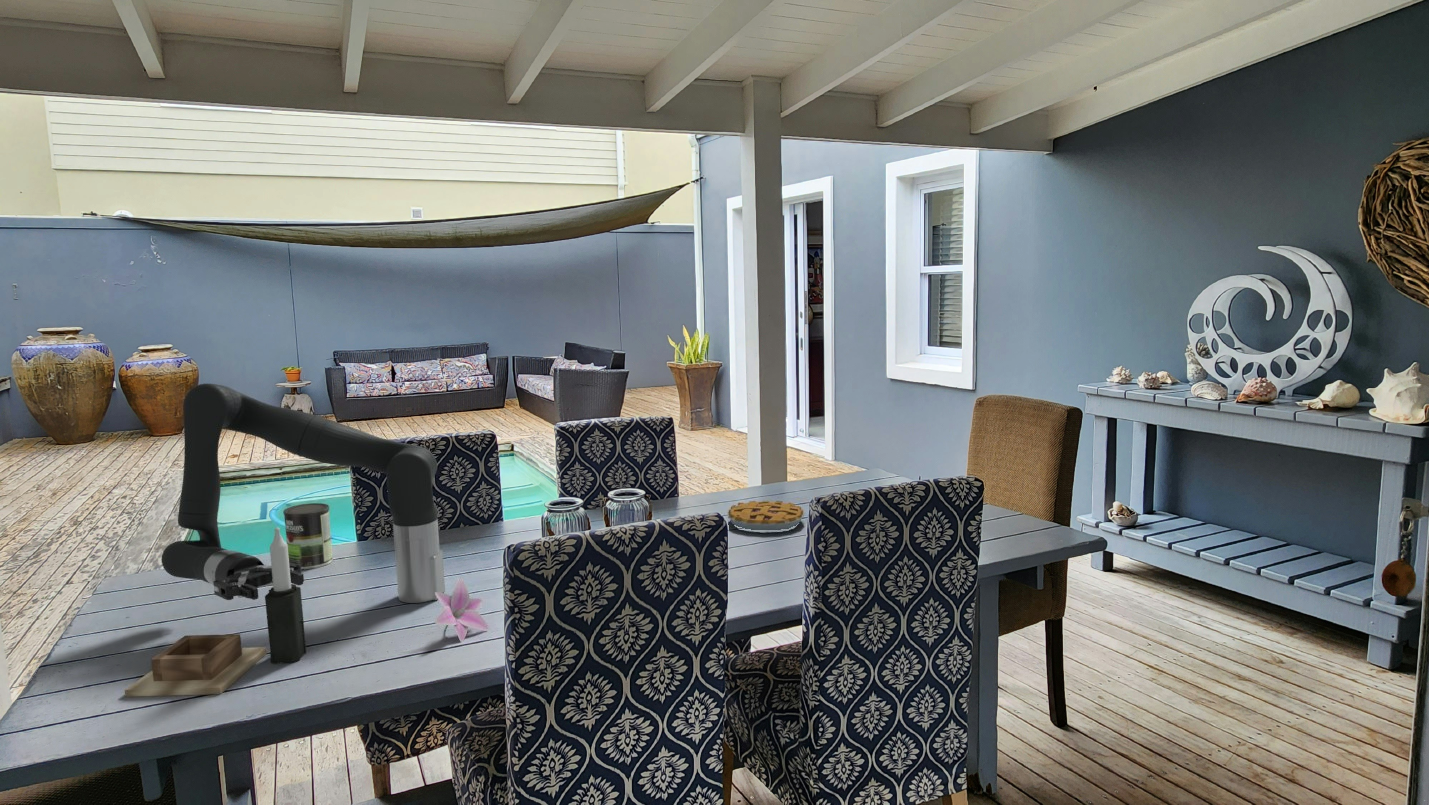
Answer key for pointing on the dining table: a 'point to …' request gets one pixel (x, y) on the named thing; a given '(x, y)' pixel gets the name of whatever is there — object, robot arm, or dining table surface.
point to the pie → (765, 515)
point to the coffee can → (308, 535)
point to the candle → (284, 608)
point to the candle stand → (197, 666)
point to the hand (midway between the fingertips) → (279, 586)
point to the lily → (460, 610)
